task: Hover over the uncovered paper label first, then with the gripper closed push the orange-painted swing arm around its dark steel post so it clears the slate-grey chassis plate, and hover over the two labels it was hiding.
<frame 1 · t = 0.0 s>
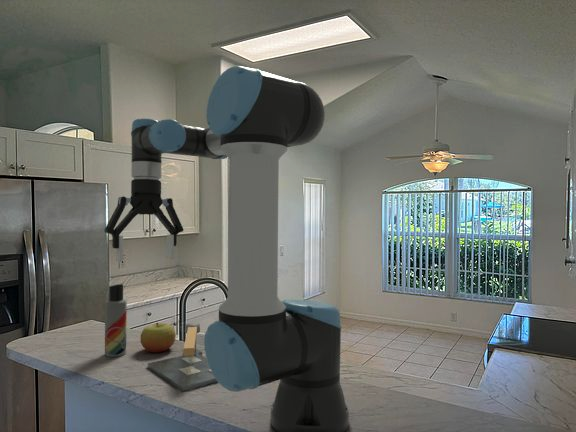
hand: (145, 260, 110), 28 cm above the countertop, fingers open, 13 cm apart
lotion bottle: (115, 354, 120), on the countertop
chassis plate: (189, 372, 107), on the countertop
post: (192, 354, 120), on the countertop
cable arm: (191, 337, 111), point 7 cm above the countertop, hinge at 0.0°
apple: (158, 350, 124), on the countertop
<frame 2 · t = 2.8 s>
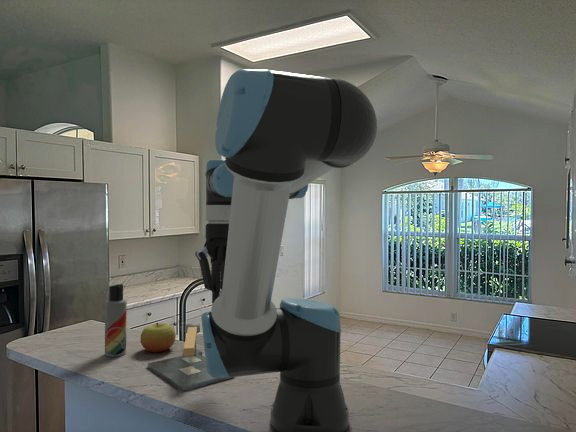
hand: (220, 317, 104), 15 cm above the countertop, fingers closed
nothing on the countertop moved.
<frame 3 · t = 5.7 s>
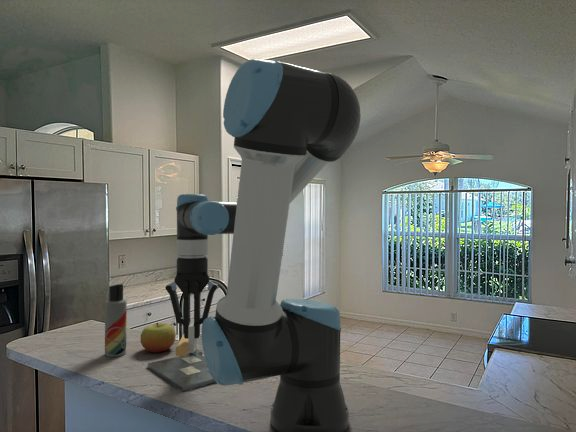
hand: (192, 351, 104), 6 cm above the countertop, fingers closed
cable arm: (188, 337, 111), point 7 cm above the countertop, hinge at -4.9°, touching gripper
everything else where it was.
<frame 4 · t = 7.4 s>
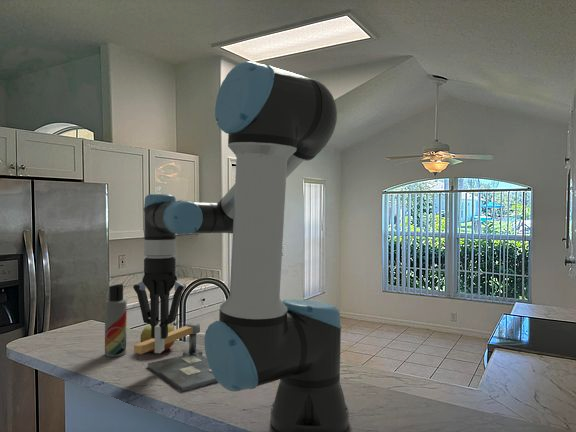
hand: (159, 351, 104), 6 cm above the countertop, fingers closed
cable arm: (170, 336, 111), point 7 cm above the countertop, hinge at -34.4°, touching gripper
everything else where it was.
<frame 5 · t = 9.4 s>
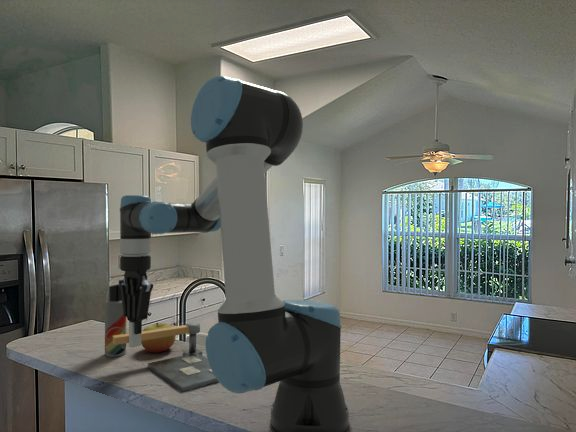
hand: (135, 345, 109), 6 cm above the countertop, fingers closed
cable arm: (159, 333, 115), point 7 cm above the countertop, hinge at -65.0°, touching gripper
everything else where it was.
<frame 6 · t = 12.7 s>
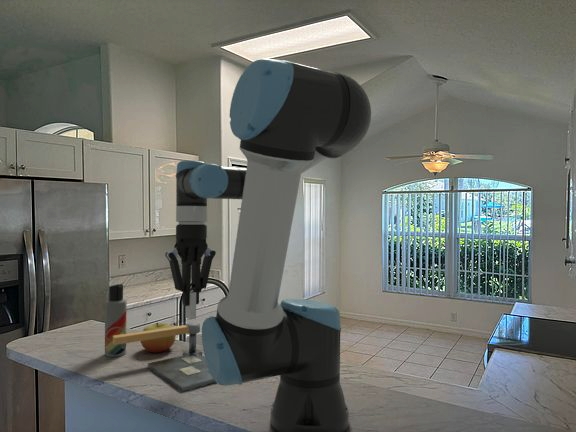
hand: (190, 318, 104), 14 cm above the countertop, fingers closed
cable arm: (159, 333, 115), point 7 cm above the countertop, hinge at -65.0°
everything else where it was.
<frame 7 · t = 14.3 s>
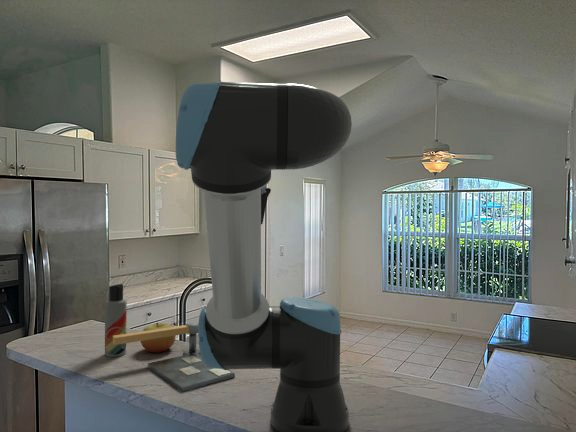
hand: (248, 253, 104), 30 cm above the countertop, fingers closed
nothing on the countertop moved.
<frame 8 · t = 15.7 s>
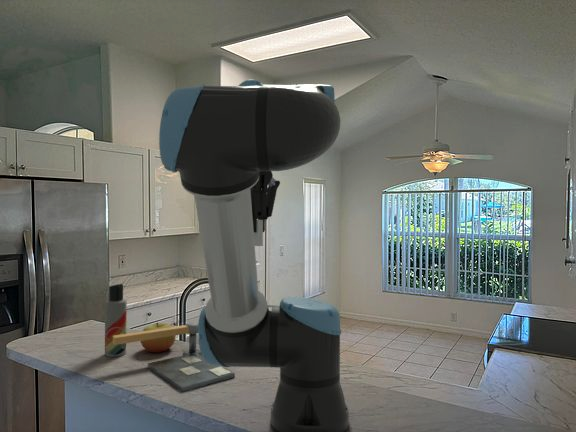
hand: (257, 245, 105), 32 cm above the countertop, fingers closed
nothing on the countertop moved.
at the end: cable arm at -65° (first picture: +0°); cable arm touching nothing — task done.
